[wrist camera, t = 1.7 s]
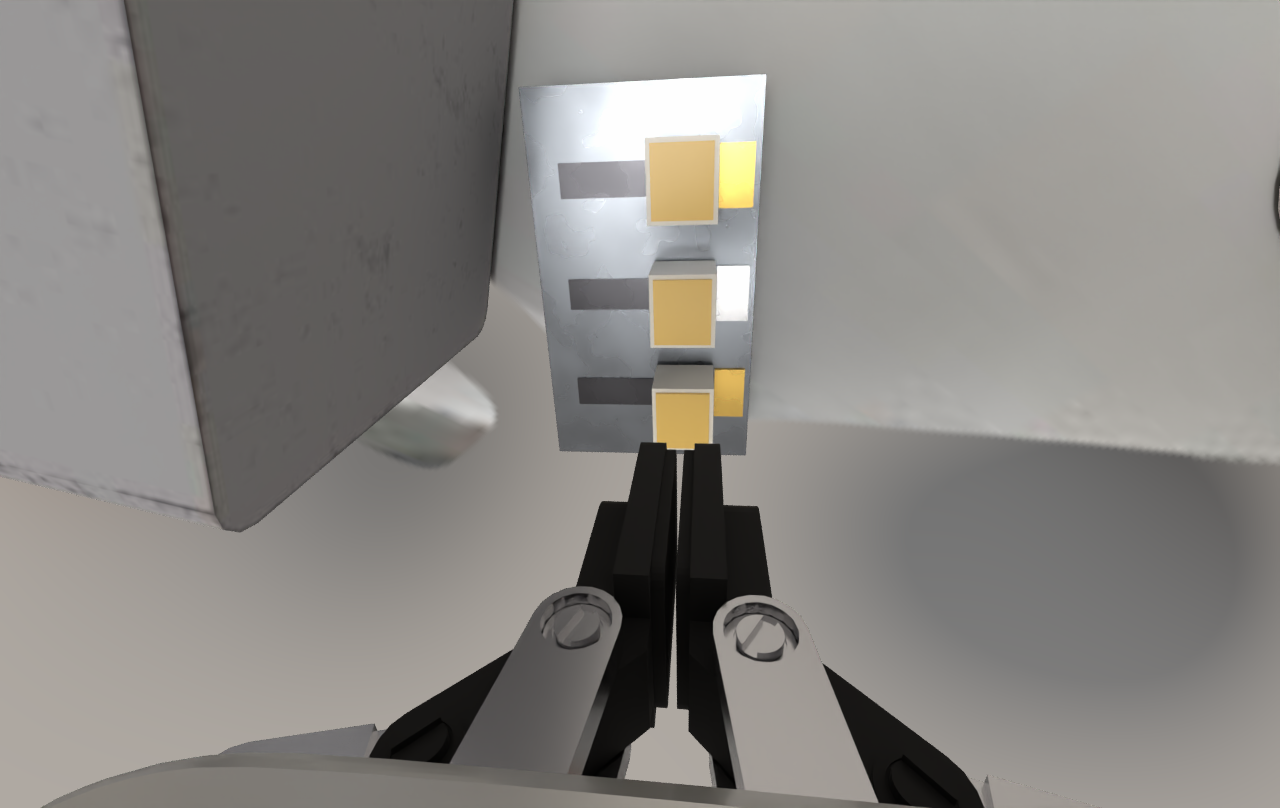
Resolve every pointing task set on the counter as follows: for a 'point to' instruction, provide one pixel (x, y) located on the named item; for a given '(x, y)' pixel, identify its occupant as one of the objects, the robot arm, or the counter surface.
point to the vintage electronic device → (235, 235)
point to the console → (638, 248)
